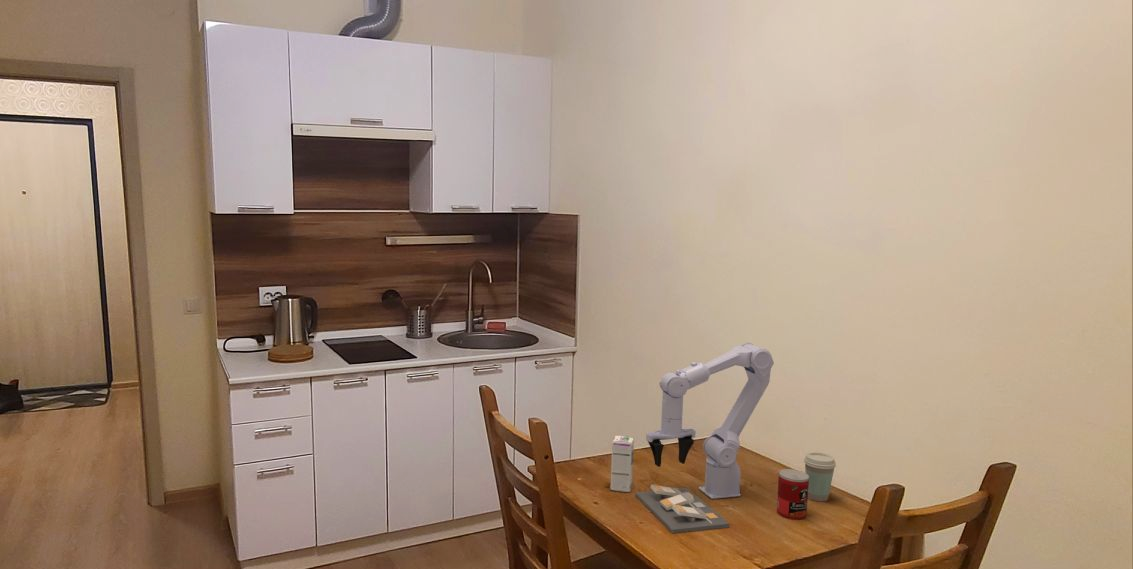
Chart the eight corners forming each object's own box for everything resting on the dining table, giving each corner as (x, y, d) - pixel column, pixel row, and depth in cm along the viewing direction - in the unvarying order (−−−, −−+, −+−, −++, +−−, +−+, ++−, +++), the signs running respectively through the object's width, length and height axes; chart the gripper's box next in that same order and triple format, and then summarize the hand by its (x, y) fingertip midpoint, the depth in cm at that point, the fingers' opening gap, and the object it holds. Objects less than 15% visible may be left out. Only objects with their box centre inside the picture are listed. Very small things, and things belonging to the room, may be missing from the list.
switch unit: (687, 491, 208) (687, 484, 207) (729, 527, 185) (729, 519, 185) (635, 495, 203) (635, 488, 203) (672, 533, 180) (672, 525, 180)
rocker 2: (687, 495, 196) (686, 491, 196) (694, 501, 193) (693, 497, 192) (660, 504, 194) (660, 500, 194) (667, 510, 190) (666, 506, 190)
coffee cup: (837, 497, 207) (841, 457, 206) (825, 506, 201) (828, 464, 199) (809, 489, 213) (812, 449, 211) (796, 497, 206) (799, 456, 205)
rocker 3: (698, 512, 190) (699, 508, 190) (706, 518, 186) (707, 514, 186) (672, 508, 187) (673, 504, 187) (678, 514, 184) (680, 510, 184)
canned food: (791, 521, 190) (794, 481, 188) (769, 510, 197) (772, 471, 195) (812, 517, 193) (815, 477, 192) (790, 505, 200) (793, 467, 199)
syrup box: (630, 492, 205) (632, 442, 204) (609, 490, 206) (612, 440, 205) (632, 485, 210) (635, 436, 209) (612, 483, 211) (614, 434, 210)
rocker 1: (675, 491, 203) (676, 487, 203) (681, 497, 199) (683, 493, 199) (650, 488, 201) (651, 483, 201) (656, 493, 197) (657, 489, 197)
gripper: (687, 410, 208) (685, 456, 209) (642, 414, 202) (640, 461, 204) (700, 417, 201) (698, 464, 202) (653, 421, 196) (651, 470, 197)
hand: (669, 463), depth 203 cm, fingers open, 7 cm apart
